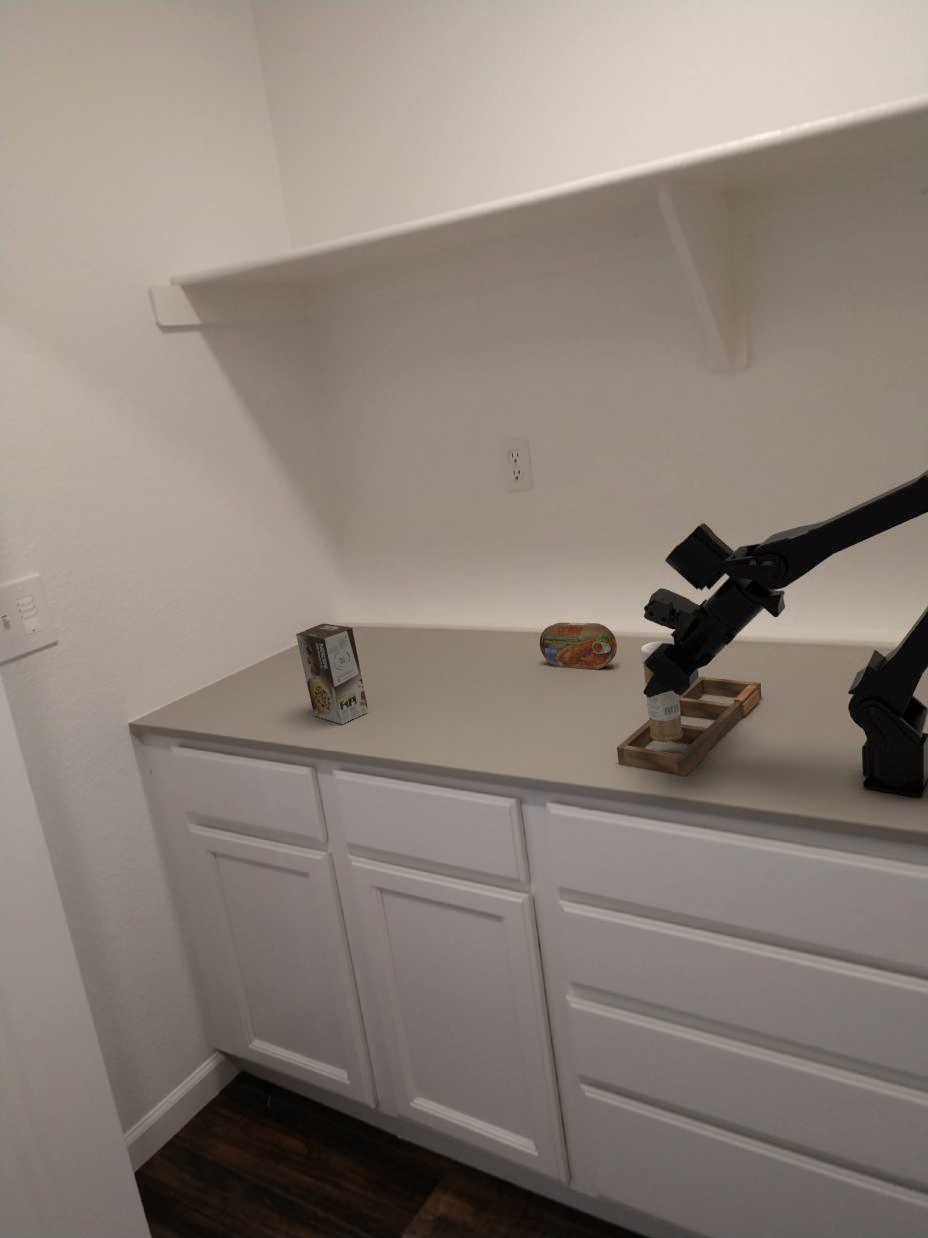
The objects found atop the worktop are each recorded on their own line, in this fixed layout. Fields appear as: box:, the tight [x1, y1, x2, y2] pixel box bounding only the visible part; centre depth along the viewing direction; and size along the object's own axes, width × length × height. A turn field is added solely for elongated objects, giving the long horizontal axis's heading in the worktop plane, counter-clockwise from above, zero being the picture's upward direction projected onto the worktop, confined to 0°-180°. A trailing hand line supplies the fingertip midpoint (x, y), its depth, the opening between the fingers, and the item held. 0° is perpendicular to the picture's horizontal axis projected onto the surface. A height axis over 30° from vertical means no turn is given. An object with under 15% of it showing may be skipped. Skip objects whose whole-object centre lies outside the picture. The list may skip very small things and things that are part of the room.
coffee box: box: [295, 623, 369, 725], centre depth 152 cm, size 9×6×16 cm
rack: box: [616, 676, 762, 777], centre depth 126 cm, size 10×28×3 cm, turn 141°
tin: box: [539, 622, 618, 670], centre depth 158 cm, size 15×3×8 cm, turn 56°
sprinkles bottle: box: [640, 641, 683, 743], centre depth 117 cm, size 5×5×13 cm
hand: (652, 688), depth 118 cm, fingers closed on sprinkles bottle, 4 cm apart
